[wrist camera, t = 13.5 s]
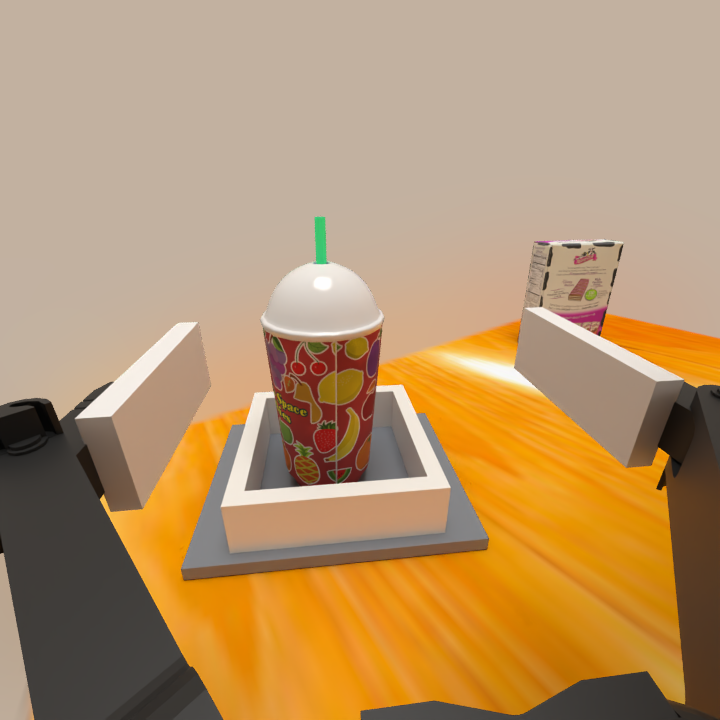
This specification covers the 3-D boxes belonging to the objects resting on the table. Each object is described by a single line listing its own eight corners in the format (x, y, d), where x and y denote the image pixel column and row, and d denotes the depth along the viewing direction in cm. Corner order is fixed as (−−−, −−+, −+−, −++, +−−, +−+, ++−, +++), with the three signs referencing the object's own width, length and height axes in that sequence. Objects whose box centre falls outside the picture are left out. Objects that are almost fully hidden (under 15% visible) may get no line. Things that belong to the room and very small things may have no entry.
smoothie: (268, 454, 33) (240, 214, 25) (354, 432, 36) (354, 212, 28) (292, 524, 26) (265, 224, 18) (396, 489, 29) (413, 220, 21)
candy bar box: (576, 339, 63) (601, 238, 57) (597, 350, 59) (627, 242, 52) (514, 342, 62) (533, 239, 55) (531, 354, 57) (553, 243, 51)
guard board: (424, 421, 40) (427, 379, 38) (486, 549, 26) (497, 493, 24) (233, 433, 38) (226, 390, 36) (184, 580, 23) (167, 521, 21)
